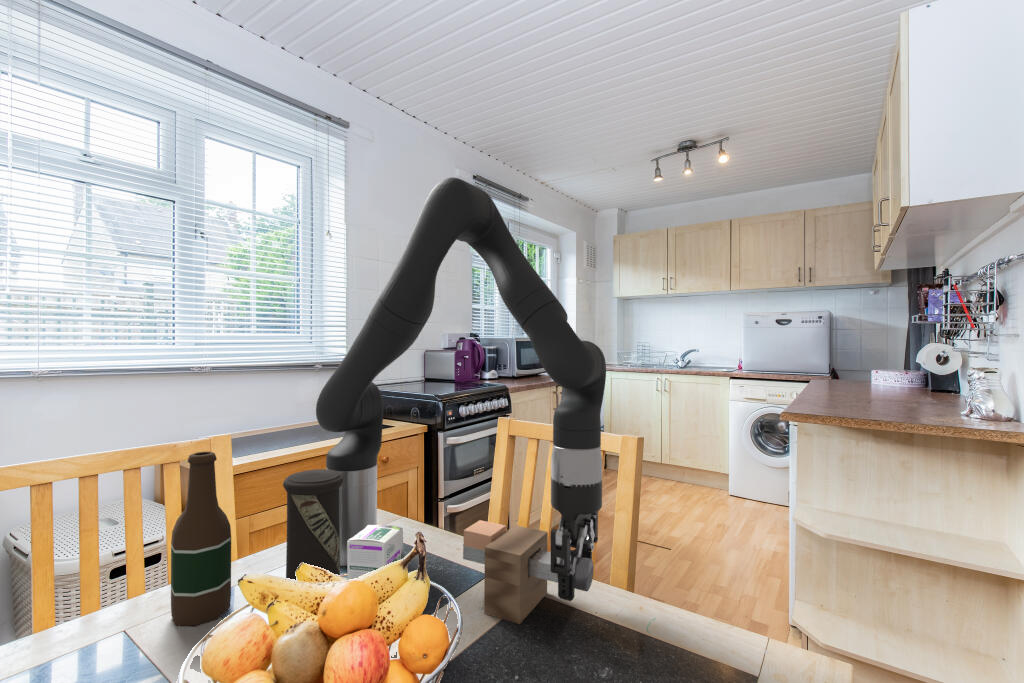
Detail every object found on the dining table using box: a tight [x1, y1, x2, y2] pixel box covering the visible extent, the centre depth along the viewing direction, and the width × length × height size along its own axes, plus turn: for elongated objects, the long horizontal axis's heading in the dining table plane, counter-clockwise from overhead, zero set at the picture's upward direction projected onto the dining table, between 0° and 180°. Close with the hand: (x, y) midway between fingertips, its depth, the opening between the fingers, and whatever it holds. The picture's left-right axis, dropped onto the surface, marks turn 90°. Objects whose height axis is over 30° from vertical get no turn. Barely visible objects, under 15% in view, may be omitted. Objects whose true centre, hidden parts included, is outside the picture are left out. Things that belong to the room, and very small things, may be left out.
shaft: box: [462, 543, 594, 592], centre depth 76 cm, size 20×4×4 cm, turn 63°
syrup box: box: [346, 524, 404, 581], centre depth 68 cm, size 6×6×14 cm
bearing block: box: [483, 524, 549, 625], centre depth 77 cm, size 6×10×10 cm, turn 153°
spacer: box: [463, 519, 507, 551], centre depth 80 cm, size 5×5×2 cm
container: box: [282, 468, 343, 580], centre depth 78 cm, size 9×9×20 cm
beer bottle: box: [170, 451, 232, 628], centre depth 73 cm, size 8×8×24 cm
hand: (575, 586), depth 73 cm, fingers open, 7 cm apart
